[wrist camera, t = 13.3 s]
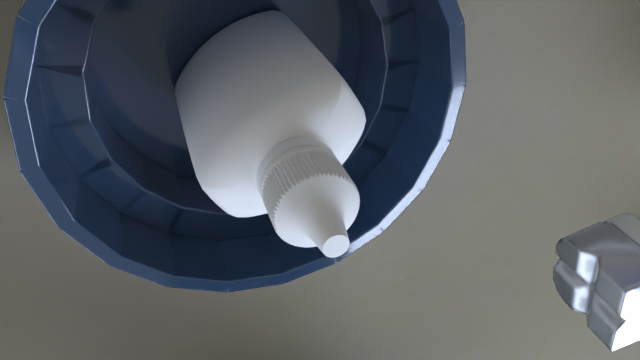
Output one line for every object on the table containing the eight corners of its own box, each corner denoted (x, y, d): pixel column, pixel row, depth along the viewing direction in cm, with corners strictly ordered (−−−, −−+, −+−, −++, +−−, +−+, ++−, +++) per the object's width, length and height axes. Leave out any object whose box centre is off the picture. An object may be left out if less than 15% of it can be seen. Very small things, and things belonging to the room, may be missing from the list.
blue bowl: (-64, -83, 17) (-130, -46, 12) (371, -198, 19) (458, -204, 14) (130, 248, 26) (135, 342, 21) (410, 145, 28) (470, 210, 24)
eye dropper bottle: (306, 100, 24) (433, 280, 15) (181, 123, 23) (233, 338, 13) (299, 3, 22) (448, 145, 12) (158, 23, 20) (203, 200, 11)
